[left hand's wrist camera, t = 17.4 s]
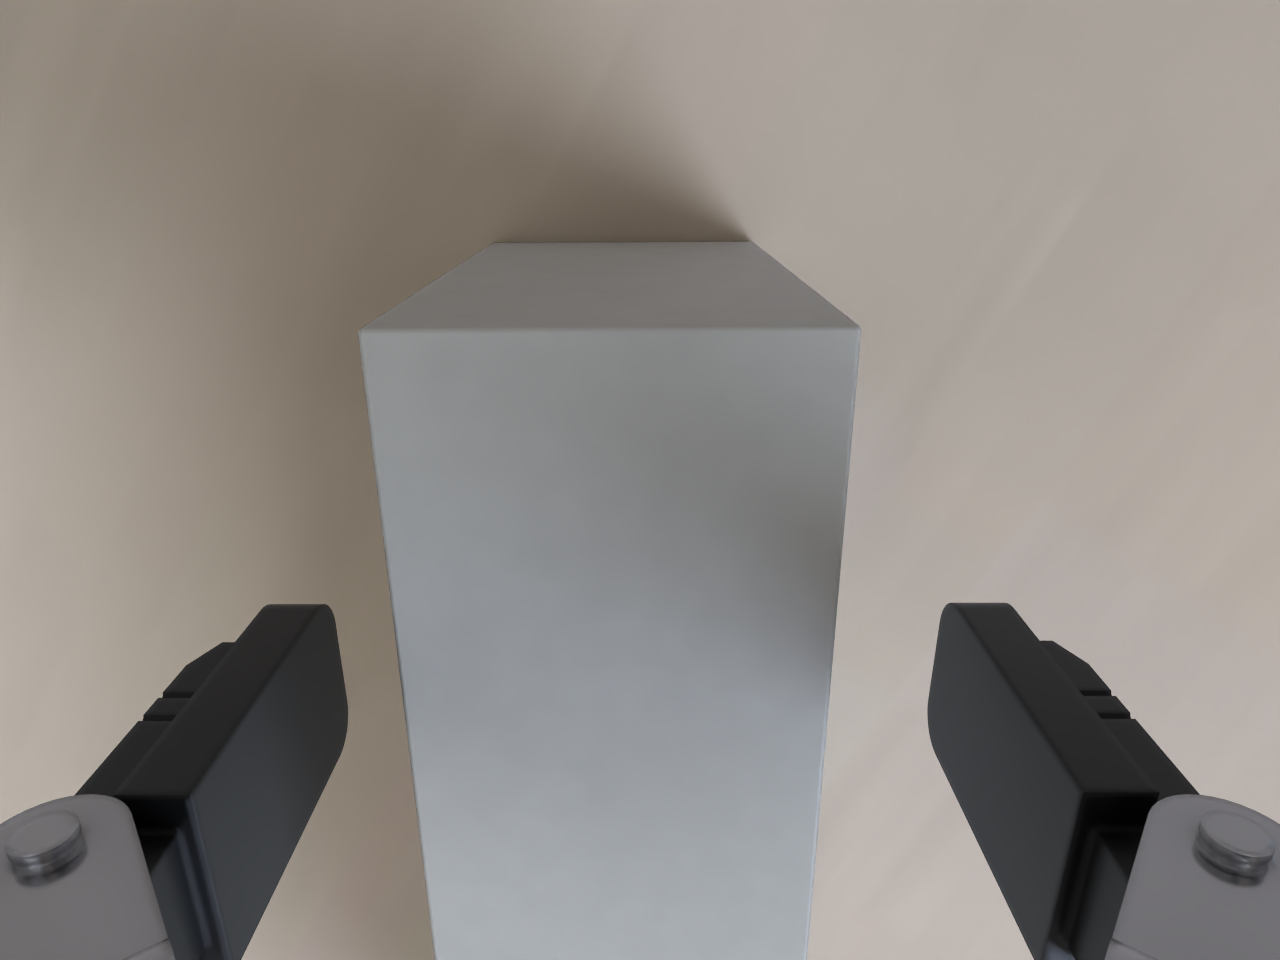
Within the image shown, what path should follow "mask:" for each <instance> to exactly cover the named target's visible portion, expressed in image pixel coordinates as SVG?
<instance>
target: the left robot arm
mask: <svg viewBox="0 0 1280 960" xmlns="http://www.w3.org/2000/svg"><path fill="white" fill-rule="evenodd" d="M143 716H144V718H143V721H138V722H137V723H136V725H135V726H134V727H133V728H132V729H131V730H130V731H129V733H128V734H127V735H126V736H125V737H124V738H123V740H122V741H121V742H120V743H119V744H118V745H117V747H116V748H115V749H114V750H113V751H112V752H111V754H110V755H109V756H108V757H107V758H106V759H105V761H104V762H103V763H102V764H101V765H100V766H99V768H98V769H97V770H96V771H95V772H94V773H93V775H92V776H91V777H90V778H89V779H88V780H87V781H86V783H85V784H84V785H83V786H82V787H81V788H80V790H79V791H78V792H77V793H76V794H75V795H74V796H69V797H64V798H60V799H56V800H52V801H49V802H46V803H43V804H40V805H38V806H35V807H33V808H30V809H28V810H25V811H23V812H21V813H19V814H17V815H15V816H13V817H12V818H10V819H8V820H7V821H5V822H3V823H2V824H0V960H241V959H242V957H243V955H244V952H245V950H246V948H247V946H248V944H249V942H250V940H251V938H252V936H253V934H254V932H255V930H256V928H257V926H258V924H259V922H260V919H261V917H262V915H263V913H264V911H265V909H266V907H267V905H268V903H269V901H270V899H271V897H272V895H273V893H274V891H275V889H276V887H277V884H278V882H279V880H280V878H281V876H282V874H283V872H284V870H285V868H286V866H287V864H288V862H289V860H290V858H291V856H292V854H293V852H294V849H295V847H296V845H297V843H298V841H299V839H300V837H301V835H302V833H303V831H304V829H305V827H306V825H307V823H308V821H309V819H310V817H311V814H312V812H313V810H314V808H315V806H316V804H317V802H318V800H319V798H320V796H321V794H322V792H323V790H324V788H325V786H326V784H327V782H328V779H329V777H330V775H331V773H332V771H333V769H334V767H335V765H336V763H337V761H338V759H339V757H340V755H341V752H342V749H343V746H344V743H345V738H346V733H347V725H348V705H347V697H346V690H345V684H344V677H343V670H342V664H341V657H340V650H339V644H338V637H337V630H336V624H335V618H334V615H333V612H332V610H331V609H330V607H329V606H328V605H325V604H269V605H266V606H265V607H263V608H262V609H261V611H260V612H259V613H258V614H257V616H256V617H255V618H254V619H253V621H252V622H251V623H250V624H249V626H248V627H247V628H246V629H245V631H244V632H243V633H242V634H241V636H240V637H239V638H238V639H237V641H236V642H222V643H221V644H219V645H218V646H216V647H214V648H213V649H211V650H210V651H208V652H207V653H205V654H203V655H202V656H200V657H199V658H197V659H196V660H194V661H193V662H191V663H189V664H188V665H186V666H185V668H184V669H183V670H182V671H181V672H180V673H179V675H178V676H177V677H176V678H175V679H174V680H173V681H172V683H171V684H170V685H169V686H168V687H167V688H166V690H165V691H164V692H163V697H162V698H158V699H157V700H156V701H155V702H154V704H153V705H152V706H151V707H150V708H149V709H148V711H147V712H146V713H145V714H144V715H143ZM928 727H929V733H930V739H931V743H932V746H933V749H934V752H935V754H936V756H937V758H938V760H939V762H940V764H941V766H942V769H943V771H944V773H945V775H946V777H947V779H948V781H949V783H950V785H951V787H952V789H953V792H954V794H955V796H956V798H957V800H958V802H959V804H960V806H961V808H962V810H963V812H964V814H965V817H966V819H967V821H968V823H969V825H970V827H971V829H972V831H973V833H974V835H975V837H976V839H977V842H978V844H979V846H980V848H981V850H982V852H983V854H984V856H985V858H986V860H987V862H988V864H989V867H990V869H991V871H992V873H993V875H994V877H995V879H996V881H997V883H998V885H999V887H1000V889H1001V892H1002V894H1003V896H1004V898H1005V900H1006V902H1007V904H1008V906H1009V908H1010V910H1011V912H1012V915H1013V917H1014V919H1015V921H1016V923H1017V925H1018V927H1019V929H1020V931H1021V933H1022V935H1023V937H1024V940H1025V942H1026V944H1027V946H1028V948H1029V950H1030V952H1031V954H1032V956H1033V958H1034V960H1280V824H1278V823H1277V822H1275V821H1273V820H1272V819H1270V818H1268V817H1266V816H1265V815H1263V814H1261V813H1259V812H1257V811H1255V810H1252V809H1250V808H1247V807H1245V806H1242V805H1240V804H1237V803H1234V802H1231V801H1228V800H1224V799H1220V798H1216V797H1211V796H1204V795H1200V794H1199V793H1198V792H1197V791H1196V790H1195V788H1194V787H1193V786H1192V785H1191V784H1190V783H1189V781H1188V780H1187V779H1186V778H1185V777H1184V776H1183V774H1182V773H1181V772H1180V771H1179V770H1178V769H1177V767H1176V766H1175V765H1174V764H1173V763H1172V762H1171V760H1170V759H1169V758H1168V757H1167V756H1166V754H1165V753H1164V752H1163V751H1162V750H1161V749H1160V747H1159V746H1158V745H1157V744H1156V743H1155V742H1154V740H1153V739H1152V738H1151V737H1150V736H1149V735H1148V733H1147V732H1146V731H1145V730H1144V729H1143V727H1142V726H1141V725H1140V724H1139V723H1138V722H1137V720H1136V719H1131V717H1130V712H1129V711H1128V710H1127V709H1126V708H1125V706H1124V705H1123V704H1122V703H1121V702H1120V700H1119V699H1118V698H1117V697H1116V696H1112V695H1111V690H1110V689H1109V688H1108V686H1107V685H1106V684H1105V683H1104V682H1103V681H1102V679H1101V678H1100V677H1099V676H1098V675H1097V674H1096V672H1095V671H1094V670H1093V669H1092V668H1091V666H1090V665H1089V664H1088V663H1086V662H1085V661H1083V660H1082V659H1080V658H1078V657H1077V656H1075V655H1074V654H1072V653H1071V652H1069V651H1067V650H1066V649H1064V648H1063V647H1061V646H1060V645H1058V644H1057V643H1055V642H1053V641H1039V639H1038V638H1037V637H1036V636H1035V634H1034V633H1033V632H1032V631H1031V629H1030V628H1029V627H1028V626H1027V624H1026V623H1025V622H1024V621H1023V619H1022V618H1021V617H1020V616H1019V614H1018V613H1017V612H1016V611H1015V609H1014V608H1013V607H1012V606H1011V605H1010V604H1008V603H948V604H947V605H946V606H945V608H944V609H943V612H942V615H941V619H940V625H939V632H938V638H937V645H936V652H935V659H934V666H933V672H932V679H931V686H930V693H929V700H928Z"/></svg>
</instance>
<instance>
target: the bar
mask: <svg viewBox="0 0 1280 960" xmlns="http://www.w3.org/2000/svg"><path fill="white" fill-rule="evenodd" d="M358 337H359V345H360V353H361V362H362V370H363V378H364V386H365V394H366V402H367V410H368V419H369V427H370V435H371V443H372V451H373V459H374V468H375V476H376V484H377V492H378V500H379V508H380V516H381V525H382V533H383V541H384V549H385V557H386V565H387V573H388V582H389V590H390V598H391V606H392V614H393V622H394V630H395V639H396V647H397V655H398V663H399V671H400V679H401V688H402V696H403V704H404V712H405V720H406V728H407V736H408V745H409V753H410V761H411V769H412V777H413V785H414V793H415V802H416V810H417V818H418V826H419V834H420V842H421V850H422V859H423V867H424V875H425V883H426V891H427V899H428V908H429V916H430V924H431V932H432V940H433V948H434V956H435V960H807V949H808V938H809V926H810V915H811V903H812V892H813V880H814V868H815V857H816V845H817V834H818V822H819V811H820V799H821V788H822V776H823V765H824V753H825V741H826V730H827V718H828V707H829V695H830V684H831V672H832V661H833V649H834V638H835V626H836V614H837V603H838V591H839V580H840V568H841V557H842V545H843V534H844V522H845V511H846V499H847V488H848V476H849V464H850V453H851V441H852V430H853V418H854V407H855V395H856V384H857V372H858V361H859V349H860V337H861V329H860V326H859V325H857V324H856V323H855V322H854V321H852V320H851V319H850V318H849V317H847V316H846V315H845V314H843V313H842V312H841V311H840V310H838V309H837V308H836V307H835V306H833V305H832V304H831V303H830V302H828V301H827V300H826V299H825V298H823V297H822V296H821V295H819V294H818V293H817V292H816V291H814V290H813V289H812V288H811V287H809V286H808V285H807V284H806V283H804V282H803V281H802V280H800V279H799V278H798V277H797V276H795V275H794V274H793V273H792V272H790V271H789V270H788V269H787V268H785V267H784V266H783V265H782V264H780V263H779V262H778V261H776V260H775V259H774V258H773V257H771V256H770V255H769V254H768V253H766V252H765V251H764V250H763V249H761V248H760V247H759V246H758V245H756V244H755V243H754V242H588V243H492V244H490V245H488V246H487V247H485V248H484V249H482V250H481V251H479V252H478V253H476V254H475V255H473V256H472V257H470V258H468V259H467V260H465V261H464V262H462V263H461V264H459V265H458V266H456V267H455V268H453V269H452V270H450V271H448V272H447V273H445V274H444V275H442V276H441V277H439V278H438V279H436V280H435V281H433V282H432V283H430V284H428V285H427V286H425V287H424V288H422V289H421V290H419V291H418V292H416V293H415V294H413V295H411V296H410V297H408V298H407V299H405V300H404V301H402V302H401V303H399V304H398V305H396V306H395V307H393V308H391V309H390V310H388V311H387V312H385V313H384V314H382V315H381V316H379V317H378V318H376V319H375V320H373V321H371V322H370V323H368V324H367V325H365V326H364V327H362V328H361V329H359V332H358Z"/></svg>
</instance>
